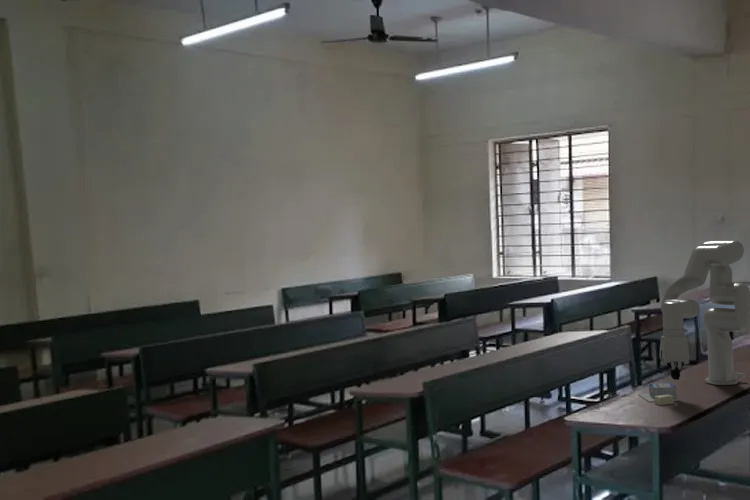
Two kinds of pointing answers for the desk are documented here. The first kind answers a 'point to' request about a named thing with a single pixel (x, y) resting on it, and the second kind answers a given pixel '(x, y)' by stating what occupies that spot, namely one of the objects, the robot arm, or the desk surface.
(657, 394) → the medicine box
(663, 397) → the pale yellow faceted block
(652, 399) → the mat
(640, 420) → the desk surface
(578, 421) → the desk surface
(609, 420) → the desk surface
